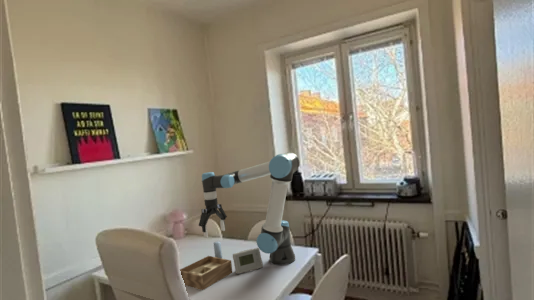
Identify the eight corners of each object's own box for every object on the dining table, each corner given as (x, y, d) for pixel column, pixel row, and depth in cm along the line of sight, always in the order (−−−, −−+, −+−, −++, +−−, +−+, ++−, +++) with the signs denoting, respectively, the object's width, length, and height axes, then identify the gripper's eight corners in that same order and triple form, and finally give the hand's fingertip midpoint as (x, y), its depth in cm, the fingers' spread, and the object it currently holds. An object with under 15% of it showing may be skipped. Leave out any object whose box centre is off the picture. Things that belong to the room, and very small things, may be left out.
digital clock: (235, 275, 174) (233, 256, 174) (233, 269, 183) (231, 250, 182) (264, 270, 178) (262, 251, 177) (261, 264, 186) (259, 246, 186)
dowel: (224, 265, 190) (221, 241, 189) (219, 267, 187) (217, 244, 186) (219, 264, 192) (217, 241, 192) (214, 266, 189) (212, 243, 189)
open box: (232, 272, 178) (231, 260, 178) (202, 290, 160) (200, 276, 160) (209, 267, 189) (208, 255, 188) (179, 283, 171) (177, 270, 171)
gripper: (221, 194, 203) (225, 227, 204) (189, 203, 183) (194, 239, 184) (229, 194, 198) (233, 228, 199) (198, 203, 179) (202, 241, 179)
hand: (214, 233), depth 191 cm, fingers open, 13 cm apart
